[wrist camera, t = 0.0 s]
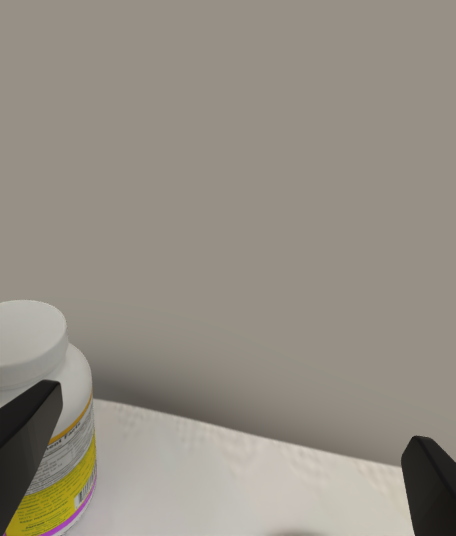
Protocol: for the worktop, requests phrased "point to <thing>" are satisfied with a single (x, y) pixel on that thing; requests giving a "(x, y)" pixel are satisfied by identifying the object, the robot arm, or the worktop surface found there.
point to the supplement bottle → (70, 421)
